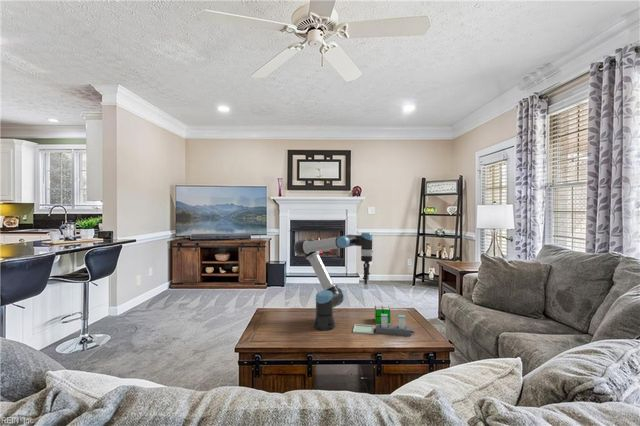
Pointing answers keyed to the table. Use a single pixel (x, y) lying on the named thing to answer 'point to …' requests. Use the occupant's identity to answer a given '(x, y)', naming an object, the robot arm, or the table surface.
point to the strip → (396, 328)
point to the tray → (363, 329)
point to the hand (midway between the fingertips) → (366, 286)
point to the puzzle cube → (381, 312)
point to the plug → (384, 320)
